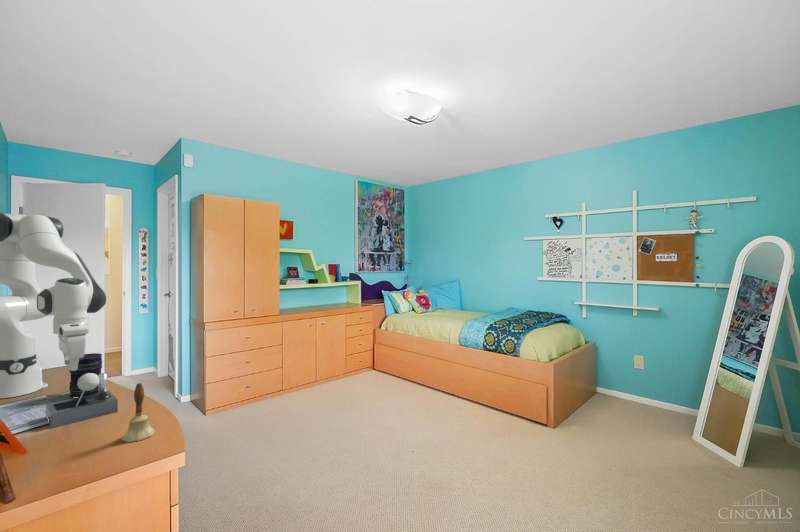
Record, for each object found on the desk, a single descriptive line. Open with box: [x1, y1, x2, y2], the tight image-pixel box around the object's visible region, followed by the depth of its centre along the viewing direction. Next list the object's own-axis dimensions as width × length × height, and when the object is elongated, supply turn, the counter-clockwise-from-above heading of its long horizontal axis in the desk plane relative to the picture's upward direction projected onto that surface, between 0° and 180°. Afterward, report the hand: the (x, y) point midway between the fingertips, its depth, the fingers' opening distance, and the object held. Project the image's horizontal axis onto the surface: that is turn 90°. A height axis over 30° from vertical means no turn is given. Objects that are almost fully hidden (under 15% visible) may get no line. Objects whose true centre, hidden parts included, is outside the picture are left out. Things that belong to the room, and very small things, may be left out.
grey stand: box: [45, 372, 119, 429], centre depth 126 cm, size 17×12×13 cm
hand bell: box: [121, 382, 156, 443], centre depth 112 cm, size 8×8×16 cm
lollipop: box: [75, 373, 100, 407], centre depth 125 cm, size 6×6×15 cm
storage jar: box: [69, 352, 103, 398], centre depth 145 cm, size 10×10×15 cm
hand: (71, 367), depth 123 cm, fingers open, 8 cm apart
